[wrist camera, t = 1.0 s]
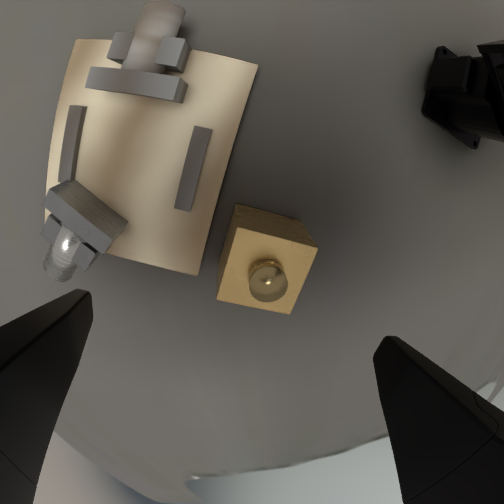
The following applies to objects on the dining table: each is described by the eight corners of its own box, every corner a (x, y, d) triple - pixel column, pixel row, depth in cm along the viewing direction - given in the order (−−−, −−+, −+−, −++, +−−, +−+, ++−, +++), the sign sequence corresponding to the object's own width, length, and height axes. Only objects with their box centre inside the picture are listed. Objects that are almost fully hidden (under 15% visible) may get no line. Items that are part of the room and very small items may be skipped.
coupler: (300, 220, 20) (324, 258, 15) (279, 277, 22) (293, 326, 16) (236, 203, 19) (238, 236, 14) (218, 263, 21) (215, 312, 16)
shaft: (72, 177, 16) (49, 188, 13) (128, 221, 18) (112, 239, 15) (43, 238, 18) (22, 256, 15) (92, 278, 19) (76, 301, 17)
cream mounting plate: (266, 40, 14) (275, 21, 11) (198, 269, 21) (193, 301, 17) (92, 16, 12) (65, 0, 9) (51, 230, 19) (23, 253, 15)
